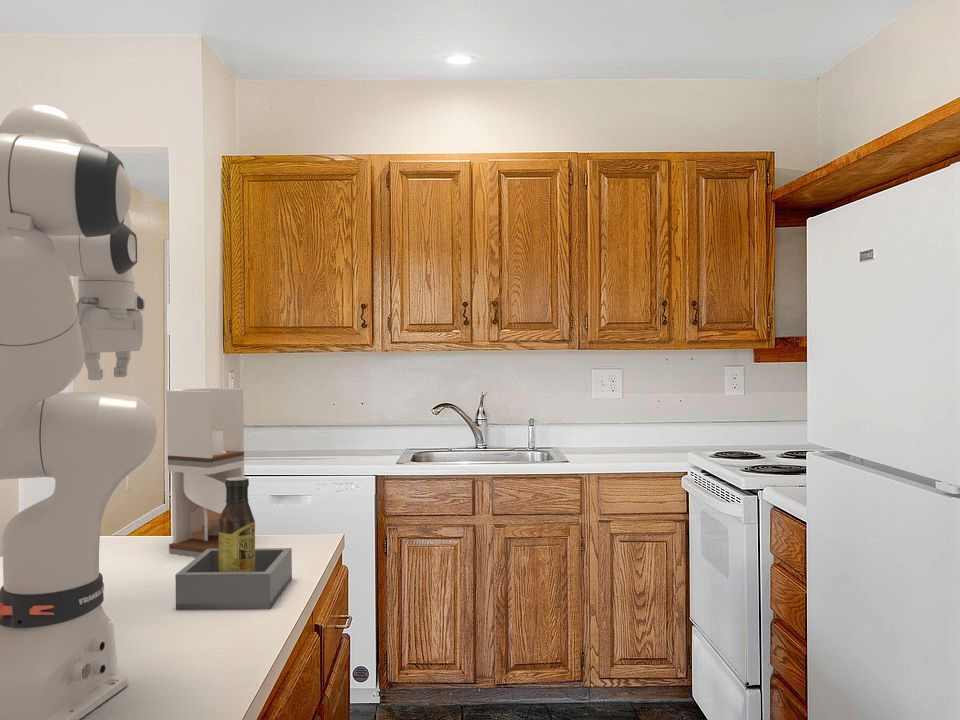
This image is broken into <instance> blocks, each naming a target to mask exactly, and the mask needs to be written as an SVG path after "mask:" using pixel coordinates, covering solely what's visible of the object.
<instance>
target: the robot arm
mask: <svg viewBox="0 0 960 720" xmlns="http://www.w3.org/2000/svg"><path fill="white" fill-rule="evenodd" d="M131 197H132V190H131V184H130V181H129V177H128V174H127V172H126V169H125V165H124V163H123V162H122V161H121V159H119V158H118V156H116V155H115V154H114V153H113V152H112V151H111V150H110V149H106V148H104V147H101V146H100V145H98V144H97V143H94V142H92V140H91V139H90V138H89V137H88V135H87V134H86V132H85V131H84V130H83V128H82V127H81V126H80V125H79V124H78V123H77V122H76V120H75V119H74V118H72V117H71V116H70V115H69V114H68V113H66V112H65V111H63V110H62V109H59V108H58V107H55V106H51V105H48V104H42V103H36V104H35V103H34V104H33V103H32V104H27V105H23V106H20V107H17V108H16V109H13V110H12V111H11V112H9V113H8V114H7V115H6V116H5V117H4V119H3V120H2V121H1V123H0V480H12V479H13V480H15V479H32V478H33V479H35V478H53V479H54V481H55V482H54V483H55V484H54V490H53V493H52V494H51V495H49V496H48V497H46V498H45V499H41V500H40V501H38V502H36V503H35V504H32V505H30V506H29V507H27V508H25V509H23V510H22V511H20V512H18V513H17V514H15V515H14V516H13V517H12V518H11V519H10V520H9V521H8V523H7V524H6V525H5V527H4V530H3V532H2V537H1V540H2V581H3V582H2V583H3V585H2V586H1V588H0V720H81V719H82V718H83V717H85V716H86V715H88V714H89V713H90V712H92V711H94V710H95V709H96V708H97V707H99V706H101V705H102V704H103V703H105V702H106V701H107V700H109V699H110V698H111V697H114V695H116V694H117V693H118V692H120V691H121V690H124V689H125V688H126V687H127V686H128V684H129V682H128V677H127V675H126V674H124V673H122V672H120V671H119V667H118V666H119V665H118V656H117V647H116V637H115V629H114V623H113V622H112V620H111V618H109V617H108V616H107V614H106V612H105V610H104V609H103V606H102V603H103V602H104V592H105V583H104V580H103V579H104V578H103V574H102V573H101V572H100V543H101V542H100V540H101V539H100V538H101V529H102V528H101V527H102V522H103V521H102V520H103V517H104V512H105V510H106V507H107V504H108V502H109V501H110V498H112V497H111V496H112V495H113V493H114V492H115V490H116V488H117V487H118V486H119V485H120V483H122V481H123V480H124V479H126V477H128V475H129V474H131V473H132V472H133V471H134V470H136V469H137V468H138V467H140V466H141V465H142V464H143V463H144V462H145V461H146V460H147V459H148V458H149V456H150V455H151V453H152V451H153V449H154V447H155V445H156V440H157V435H158V430H157V422H156V419H155V415H154V414H153V411H152V410H151V408H150V407H149V405H148V404H147V403H146V402H145V401H144V400H143V399H142V398H141V397H139V396H135V395H129V394H124V393H117V392H109V391H83V392H82V391H76V392H72V391H71V392H62V391H64V390H65V389H66V388H67V387H68V386H69V385H70V384H71V383H73V381H75V379H76V378H77V377H78V375H80V373H81V371H82V369H83V367H84V364H85V367H86V369H87V377H88V378H87V379H88V380H89V381H99V380H102V379H103V378H104V377H103V376H104V375H103V374H104V373H103V372H104V371H103V369H101V366H100V361H99V360H100V359H101V354H102V353H113V352H114V353H115V358H116V363H115V367H113V376H114V377H115V378H125V377H127V376H128V367H129V363H130V360H131V352H139V351H141V348H142V345H143V340H144V316H143V314H142V312H143V311H145V310H146V302H145V299H144V298H143V297H141V295H140V294H138V292H137V290H136V289H135V279H134V276H133V267H134V266H135V265H136V264H137V263H138V238H137V235H136V233H135V232H134V231H133V229H132V223H131V219H130V214H129V209H130V207H131V206H130V205H131V199H132V198H131ZM71 277H78V279H77V281H78V282H77V283H78V284H77V287H78V289H77V291H78V292H77V294H78V296H77V297H78V301H77V299H76V296H75V291H74V288H73V284H72V282H71V281H72V280H71Z"/></svg>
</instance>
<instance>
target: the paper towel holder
mask: <svg viewBox="0 0 960 720" xmlns="http://www.w3.org/2000/svg"><path fill="white" fill-rule="evenodd" d="M244 428H245V427H244V388H233V387H230V388H229V387H227V388H226V387H196V388H195V387H194V388H183V389H182V388H181V389H170V390H166V430H167V431H166V437H167V442H166V443H167V472H171V481H172V482H171V488H172V492H171V493H172V494H171V496H172V543H169V545H168V546H169V547H168V554H169V553H170V554H169V555H175V554H177V556H182V555H186V556H185V557H190V556H193V557H192V558H197V557H198V556H199V555H200V554H202V553H203V552H204V551H205V550H206V549H219V530H220V515H221V513H222V511H223V509H224V508H225V506H226V504H227V503H226V486H225V480H226V479H227V478H233V477H245V440H244V439H245V438H244V437H245V436H244Z"/></svg>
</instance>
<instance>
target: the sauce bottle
mask: <svg viewBox="0 0 960 720" xmlns="http://www.w3.org/2000/svg"><path fill="white" fill-rule="evenodd" d="M249 485H250V481H249V477H246V476H244V477H233V478H227V479H226V480H225V486H226V503H227V504H226V506H225V508H224V509H223V511H222V513H221V515H220V530H219V572H255V548H256V520H255V517H254V515H253V512H252V509H251V506H250V504H249V495H248V493H249V489H248V488H249Z"/></svg>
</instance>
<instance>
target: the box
mask: <svg viewBox="0 0 960 720" xmlns="http://www.w3.org/2000/svg"><path fill="white" fill-rule="evenodd" d="M292 549H293V548H292V547H281V548H280V547H275V548H273V547H270V548H268V547H266V548H265V547H263V548H261V547H260V548H256V547H255V572H219V549H206V550H205V551H204V552H203V553H202V554H200V555H199V556H198V557H194V559H193V560H192V561H190V562H189V563H188V564H187V565H185V566H184V567H182V568H181V570H179V571H178V572H177V573H176V574H175V576H174V577H175V579H174V580H175V610H177V611H178V610H179V611H185V610H187V611H188V610H195V611H196V610H197V611H198V610H199V611H200V610H269V609H270V610H271V609H272V608H273V606H274V605H275V603H276V602H277V600H279V598H280V596H281V595H282V594H283V593H284V591H285V589H286V588H287V587H288V586H289V584H290V582H291V581H292V580H293V562H292V561H293V554H292V553H293V551H292Z"/></svg>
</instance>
